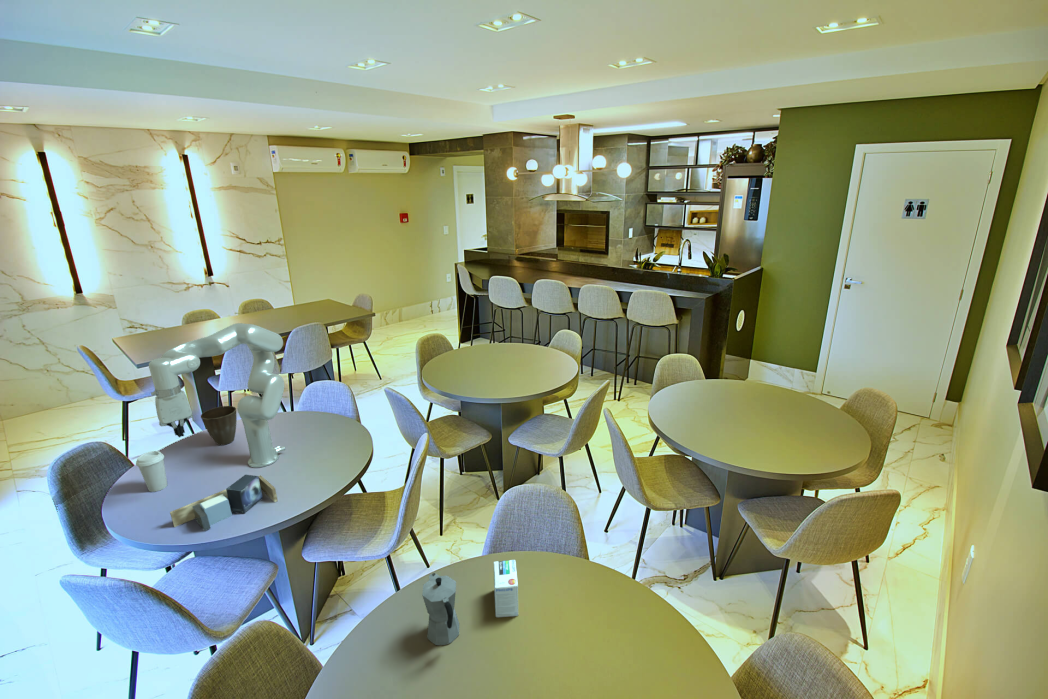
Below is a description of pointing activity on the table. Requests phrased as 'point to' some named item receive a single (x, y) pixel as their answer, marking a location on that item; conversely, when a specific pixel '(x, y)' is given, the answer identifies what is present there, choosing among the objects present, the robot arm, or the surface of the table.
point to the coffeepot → (441, 609)
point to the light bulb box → (506, 588)
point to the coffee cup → (153, 470)
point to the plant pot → (221, 424)
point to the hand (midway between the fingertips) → (180, 435)
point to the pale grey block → (216, 509)
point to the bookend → (201, 517)
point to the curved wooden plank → (187, 511)
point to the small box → (244, 494)
